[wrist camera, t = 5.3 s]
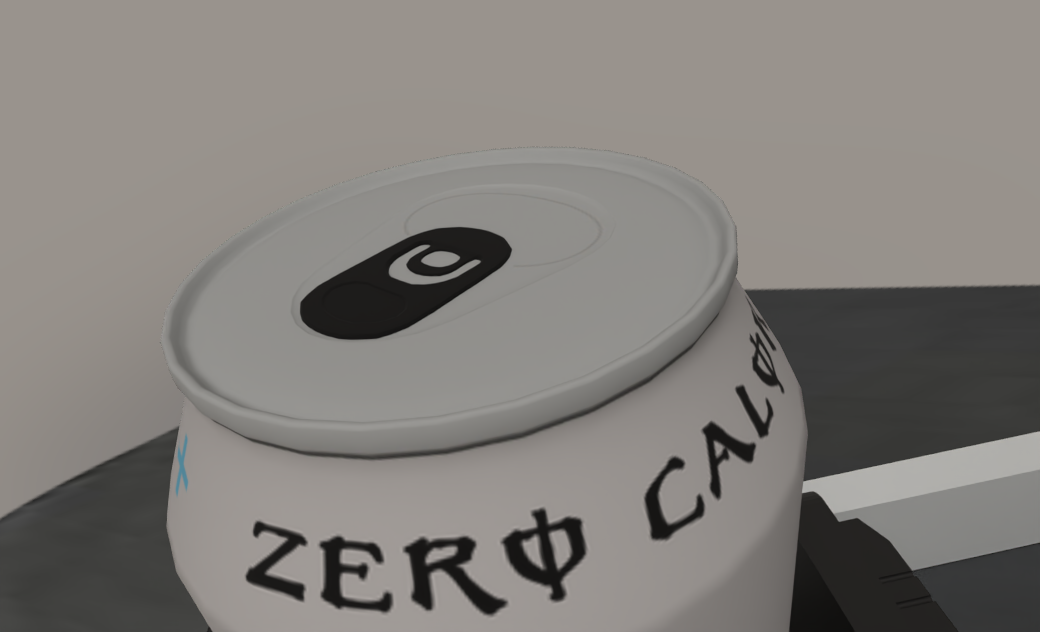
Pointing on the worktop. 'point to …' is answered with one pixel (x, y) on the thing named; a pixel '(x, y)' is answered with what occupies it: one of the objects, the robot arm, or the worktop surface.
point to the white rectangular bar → (946, 500)
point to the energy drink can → (485, 408)
